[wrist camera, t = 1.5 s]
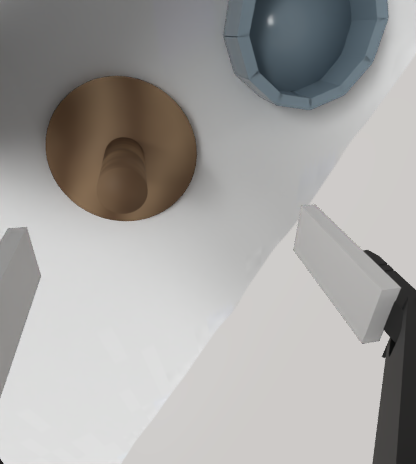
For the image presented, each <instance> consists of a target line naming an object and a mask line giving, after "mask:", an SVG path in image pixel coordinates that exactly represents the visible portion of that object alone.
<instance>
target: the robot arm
mask: <svg viewBox="0 0 416 464" xmlns="http://www.w3.org/2000/svg"><path fill="white" fill-rule="evenodd" d="M293 250H294V252H295V253H296V254H297V256H298V257H299V258H300V260H301V261H302V262H303V264H304V265H305V267H306V268H307V269H308V271H309V272H310V273H311V275H312V276H313V277H314V279H315V280H316V282H317V283H318V284H319V286H320V287H321V288H322V290H323V291H324V293H325V294H326V295H327V297H328V298H329V299H330V301H331V302H332V303H333V305H334V306H335V307H336V309H337V310H338V312H339V313H340V314H341V316H342V317H343V318H344V320H345V321H346V323H347V324H348V325H349V327H350V328H351V329H352V331H353V332H354V333H355V335H356V336H357V338H358V339H359V340H360V342H361V343H362V344H364V343H369V342H376V341H380V338H381V336H382V333H383V331H384V330H385V332H386V333H387V334H388V335H389V336H390V339H389V341H388V344H387V346H386V348H385V351H384V353H383V356H382V357H384V358H385V357H386V359H385V368H384V376H383V384H382V392H381V401H380V408H379V416H378V424H377V432H376V440H375V448H374V456H373V464H416V290H415V289H414V288H413V287H412V286H411V285H410V284H409V283H408V282H406V281H405V280H404V279H403V278H402V277H401V276H400V275H399V274H398V273H397V272H396V271H393V269H392V268H391V267H390V266H389V265H387V263H386V262H385V261H384V260H383V259H382V258H381V257H379V256H378V255H376V254H374V253H372V252H371V251H369V250H365V251H363V250H362V249H361V248H360V247H358V246H357V245H356V244H355V243H354V242H353V241H352V240H351V239H350V238H349V237H348V236H347V235H346V234H345V233H344V232H343V231H342V230H341V229H340V228H339V227H338V226H337V225H336V224H335V223H334V222H333V221H331V219H330V218H328V217H327V216H326V215H325V214H324V213H323V212H322V211H321V210H320V209H319V208H318V207H317V206H316V205H304V206H301V211H300V216H299V222H298V227H297V233H296V239H295V244H294V249H293ZM40 278H41V274H40V271H39V267H38V264H37V261H36V257H35V254H34V250H33V247H32V244H31V240H30V237H29V233H28V230H27V227H21V228H8V229H7V231H6V233H5V235H4V236H3V238H2V240H1V242H0V397H1V394H2V391H3V388H4V385H5V382H6V379H7V376H8V373H9V370H10V367H11V364H12V361H13V358H14V355H15V352H16V349H17V346H18V343H19V340H20V337H21V334H22V331H23V328H24V325H25V322H26V319H27V316H28V313H29V310H30V307H31V304H32V301H33V298H34V295H35V292H36V289H37V287H38V284H39V281H40ZM0 464H3V462H2V461H1V459H0Z"/></svg>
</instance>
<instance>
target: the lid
mask: <svg viewBox="0 0 416 464" xmlns="http://www.w3.org/2000/svg"><path fill="white" fill-rule="evenodd" d="M46 156H47V161H48V164H49V168H50V170H51V173H52V175H53V177H54V179H55V181H56V182H57V184H58V186H59V187H60V188H61V190H62V191H63V192H64V193H65V194H66V195H67V196H68V197H69V198H70V199H71V200H72V201H73V202H74V203H75V204H77V205H78V206H79V207H81V208H83V209H84V210H86V211H88V212H90V213H92V214H94V215H96V216H99V217H102V218H106V219H110V220H117V221H135V220H141V219H146V218H149V217H152V216H155V215H157V214H159V213H161V212H163V211H165V210H166V209H168V208H169V207H171V206H172V205H173V204H174V203H175V202H176V201H177V200H178V199H179V198H180V197H181V196H182V195H183V193H184V192H185V191H186V189H187V188H188V186H189V184H190V182H191V180H192V177H193V174H194V171H195V166H196V158H197V150H196V141H195V136H194V133H193V130H192V127H191V125H190V123H189V121H188V119H187V117H186V116H185V114H184V112H183V111H182V109H181V108H180V107H179V106H178V104H177V103H176V102H175V101H174V100H173V99H172V98H171V97H170V96H169V95H168V94H167V93H165V92H164V91H162V90H161V89H159V88H158V87H156V86H154V85H152V84H150V83H148V82H145V81H143V80H140V79H136V78H132V77H125V76H108V77H102V78H97V79H94V80H91V81H89V82H86V83H84V84H82V85H81V86H79V87H77V88H76V89H74V90H73V91H72V92H70V93H69V94H68V95H67V96H66V97H65V98H64V99H63V100H62V101H61V102H60V104H59V105H58V107H57V108H56V110H55V111H54V113H53V115H52V117H51V119H50V122H49V125H48V128H47V134H46Z"/></svg>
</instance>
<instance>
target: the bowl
mask: <svg viewBox="0 0 416 464" xmlns="http://www.w3.org/2000/svg"><path fill="white" fill-rule="evenodd" d="M387 18H388V3H387V0H229V2H228V9H227V15H226V21H225V28H224V34H223V37H224V40H225V44H226V47H227V50H228V53H229V57H230V60H231V63H232V67H233V70H234V73H235V74H236V75H237V76H238V77H239V78H240V79H241V80H242V81H243V82H244V83H245V84H246V85H247V86H248V87H249V88H251V89H252V90H253V91H254V92H255V93H256V94H257V95H258V96H259V97H261V98H263V99H265V100H267V101H269V102H271V103H273V104H275V105H278V106H285V107H292V108H298V109H305V110H312V109H314V108H316V107H319V106H321V105H323V104H325V103H328V102H330V101H332V100H335V99H337V98H339V97H341V96H344V95H345V94H346V93H347V92H348V91H349V89H350V88H351V87H352V86H353V85H354V84H355V83H356V81H357V80H358V79H359V78H360V77H361V76H362V75H363V73H364V72H365V71H366V70H367V69H368V68H369V67H370V65H371V64H372V62H373V61H374V58H375V55H376V52H377V50H378V47H379V44H380V41H381V38H382V35H383V32H384V30H385V27H386V24H387V21H388V19H387Z"/></svg>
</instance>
